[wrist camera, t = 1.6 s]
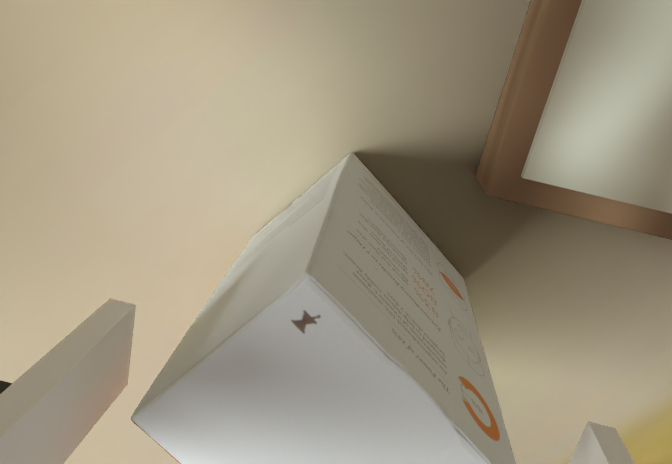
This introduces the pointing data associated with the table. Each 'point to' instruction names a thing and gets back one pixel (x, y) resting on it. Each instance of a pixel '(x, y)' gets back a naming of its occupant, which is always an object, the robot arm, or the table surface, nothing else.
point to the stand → (588, 114)
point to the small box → (332, 346)
